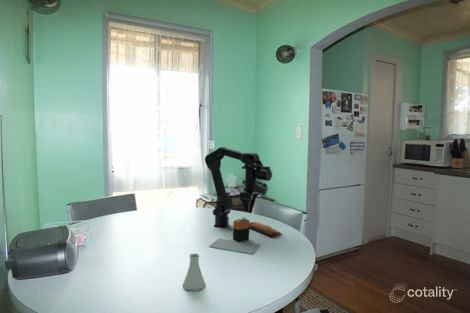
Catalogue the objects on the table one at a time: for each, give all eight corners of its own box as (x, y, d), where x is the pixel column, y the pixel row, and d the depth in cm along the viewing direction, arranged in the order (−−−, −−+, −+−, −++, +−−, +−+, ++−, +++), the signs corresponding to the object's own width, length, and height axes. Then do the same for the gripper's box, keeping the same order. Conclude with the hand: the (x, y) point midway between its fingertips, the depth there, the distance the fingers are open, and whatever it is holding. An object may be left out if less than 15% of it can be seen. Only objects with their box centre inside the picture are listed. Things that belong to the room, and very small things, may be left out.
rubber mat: (208, 247, 125) (208, 246, 125) (219, 238, 135) (219, 238, 135) (252, 254, 118) (252, 253, 118) (260, 245, 128) (260, 244, 128)
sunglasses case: (284, 234, 143) (280, 224, 140) (276, 244, 139) (271, 234, 137) (259, 225, 157) (254, 216, 154) (250, 234, 153) (246, 224, 151)
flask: (183, 280, 96) (183, 251, 95) (205, 279, 96) (206, 250, 96) (181, 292, 89) (181, 260, 88) (205, 291, 89) (205, 260, 88)
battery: (249, 239, 135) (250, 218, 134) (238, 242, 130) (239, 220, 130) (242, 237, 138) (243, 216, 138) (232, 240, 133) (233, 218, 133)
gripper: (261, 182, 131) (260, 216, 133) (271, 177, 149) (269, 207, 150) (238, 180, 135) (237, 213, 136) (250, 175, 153) (249, 204, 154)
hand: (249, 209), depth 144 cm, fingers open, 9 cm apart
